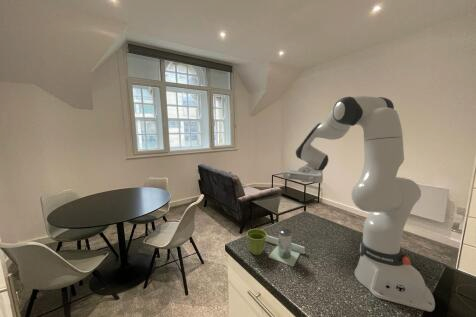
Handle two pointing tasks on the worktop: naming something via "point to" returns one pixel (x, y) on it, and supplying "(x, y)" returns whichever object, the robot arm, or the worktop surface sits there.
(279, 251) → the canister
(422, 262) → the worktop surface
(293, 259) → the pad
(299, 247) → the wall
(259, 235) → the plant pot
